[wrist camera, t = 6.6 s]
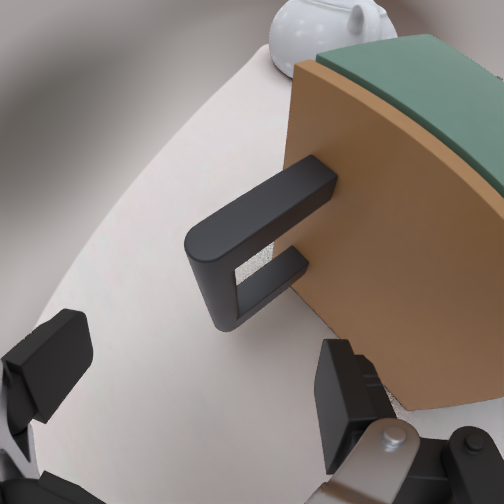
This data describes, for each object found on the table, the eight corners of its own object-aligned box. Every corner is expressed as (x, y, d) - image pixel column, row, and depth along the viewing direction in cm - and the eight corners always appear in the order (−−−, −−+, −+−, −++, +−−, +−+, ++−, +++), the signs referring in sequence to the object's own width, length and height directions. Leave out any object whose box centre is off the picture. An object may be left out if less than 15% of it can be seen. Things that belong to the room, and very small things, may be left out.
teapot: (232, 62, 35) (230, -30, 23) (315, 34, 41) (324, -35, 29) (353, 126, 29) (385, 9, 17) (415, 84, 35) (441, 7, 23)
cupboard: (416, 399, 16) (609, 338, 4) (282, 257, 21) (315, 53, 9) (481, 302, 20) (608, 195, 7) (368, 190, 25) (428, 33, 12)
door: (344, 475, 14) (512, 553, 2) (202, 316, 19) (124, 135, 7) (415, 402, 16) (605, 345, 4) (279, 258, 21) (310, 58, 9)
